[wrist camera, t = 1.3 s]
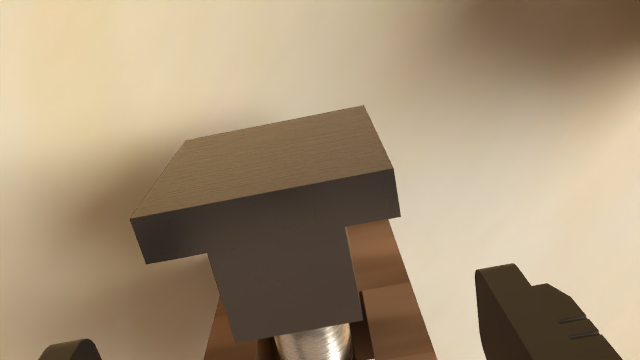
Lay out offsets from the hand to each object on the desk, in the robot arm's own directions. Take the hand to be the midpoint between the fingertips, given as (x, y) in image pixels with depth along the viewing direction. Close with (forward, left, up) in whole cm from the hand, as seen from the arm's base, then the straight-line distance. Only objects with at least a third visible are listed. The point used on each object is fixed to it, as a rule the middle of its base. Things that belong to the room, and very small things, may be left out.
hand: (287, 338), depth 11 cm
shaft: (-6, +6, -8) cm, 12 cm away
